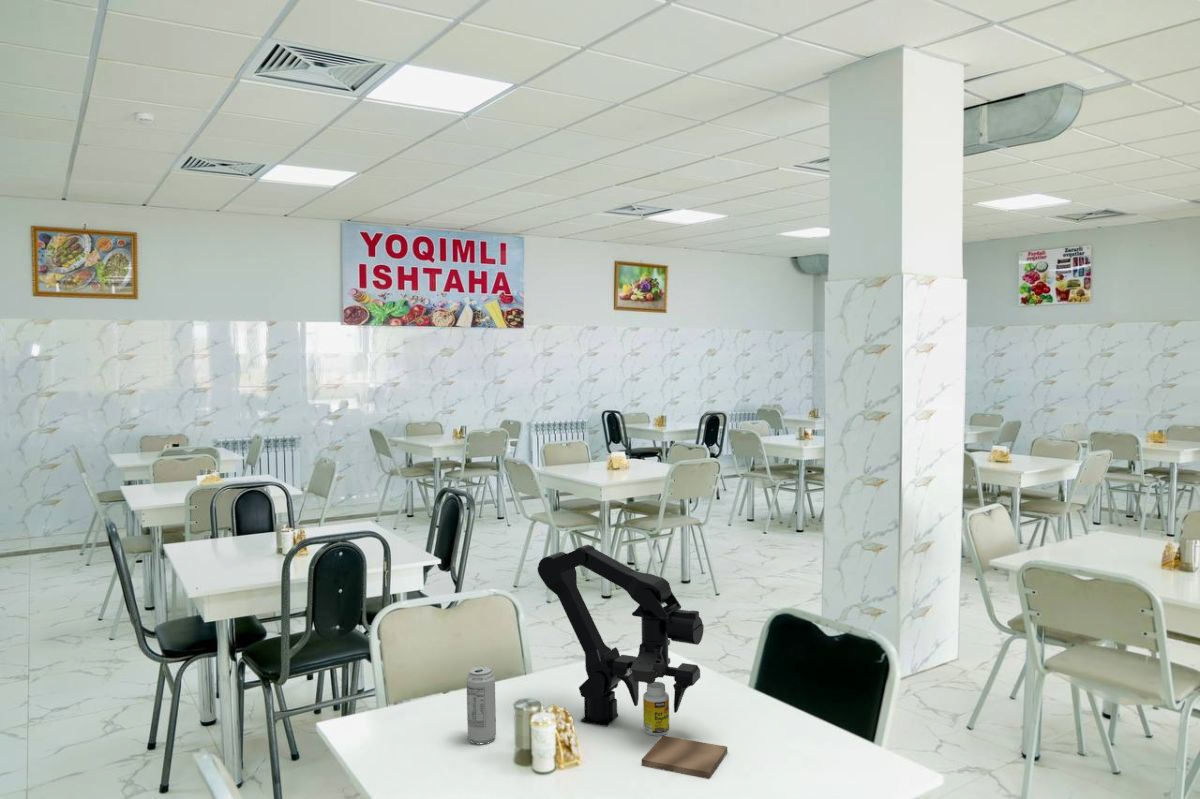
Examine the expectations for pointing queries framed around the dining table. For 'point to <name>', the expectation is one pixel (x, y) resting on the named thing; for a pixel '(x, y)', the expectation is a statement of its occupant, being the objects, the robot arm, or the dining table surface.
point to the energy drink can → (481, 705)
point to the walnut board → (685, 756)
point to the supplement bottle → (656, 709)
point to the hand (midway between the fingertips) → (655, 708)
